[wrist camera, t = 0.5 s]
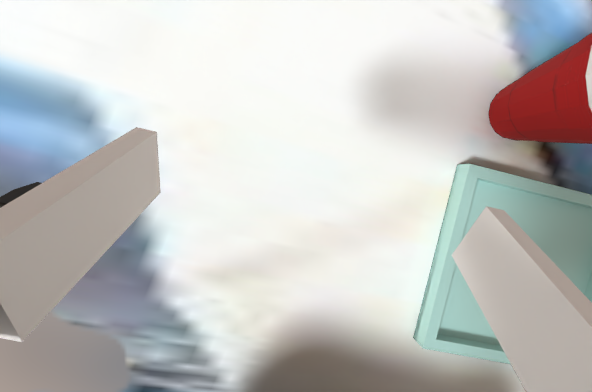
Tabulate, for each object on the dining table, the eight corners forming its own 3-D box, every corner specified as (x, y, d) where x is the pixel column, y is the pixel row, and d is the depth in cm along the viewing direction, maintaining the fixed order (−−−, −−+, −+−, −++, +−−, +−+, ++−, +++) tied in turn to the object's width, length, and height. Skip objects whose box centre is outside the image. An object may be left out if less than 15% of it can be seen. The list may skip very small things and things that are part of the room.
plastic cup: (556, 161, 32) (724, 152, 20) (467, 163, 31) (588, 154, 19) (560, 63, 32) (736, -6, 20) (469, 62, 31) (595, -12, 19)
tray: (567, 366, 34) (586, 377, 32) (413, 337, 32) (422, 348, 30) (612, 204, 33) (634, 205, 31) (457, 164, 31) (470, 163, 29)
